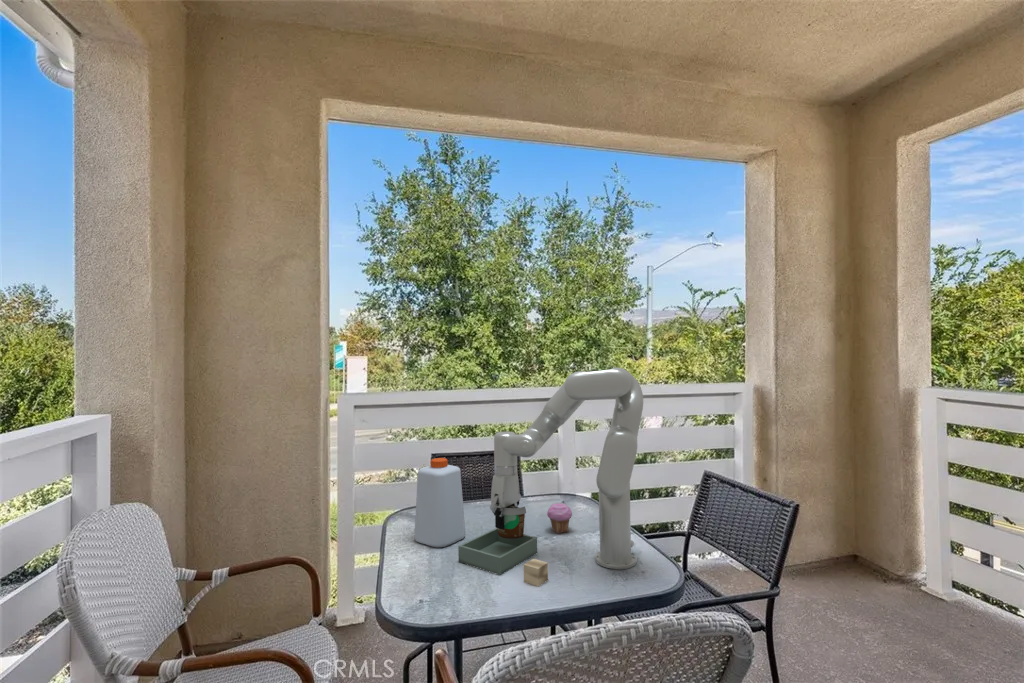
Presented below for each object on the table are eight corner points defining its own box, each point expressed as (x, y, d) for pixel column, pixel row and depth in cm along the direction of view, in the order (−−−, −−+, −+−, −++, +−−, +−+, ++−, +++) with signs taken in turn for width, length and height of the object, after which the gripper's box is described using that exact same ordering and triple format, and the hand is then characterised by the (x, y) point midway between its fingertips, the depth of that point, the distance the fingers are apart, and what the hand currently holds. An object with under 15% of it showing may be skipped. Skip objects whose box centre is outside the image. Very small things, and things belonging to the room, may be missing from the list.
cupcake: (554, 537, 178) (554, 508, 179) (543, 529, 186) (542, 502, 186) (576, 533, 182) (576, 505, 182) (564, 525, 190) (563, 498, 190)
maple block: (533, 575, 148) (533, 558, 148) (548, 580, 145) (547, 562, 145) (523, 582, 144) (523, 564, 144) (538, 586, 141) (538, 568, 141)
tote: (497, 542, 174) (497, 527, 175) (537, 553, 165) (537, 537, 165) (458, 561, 159) (458, 545, 159) (500, 575, 149) (500, 557, 149)
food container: (486, 534, 167) (486, 503, 167) (499, 529, 172) (498, 499, 172) (513, 543, 159) (513, 511, 159) (526, 537, 163) (526, 506, 164)
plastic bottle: (470, 536, 180) (469, 457, 181) (440, 550, 168) (439, 466, 168) (439, 528, 189) (438, 453, 190) (409, 541, 177) (408, 461, 177)
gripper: (512, 463, 175) (512, 516, 175) (480, 473, 161) (480, 530, 161) (530, 466, 170) (530, 520, 170) (498, 477, 157) (499, 535, 156)
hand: (506, 524), depth 165 cm, fingers closed on food container, 6 cm apart
